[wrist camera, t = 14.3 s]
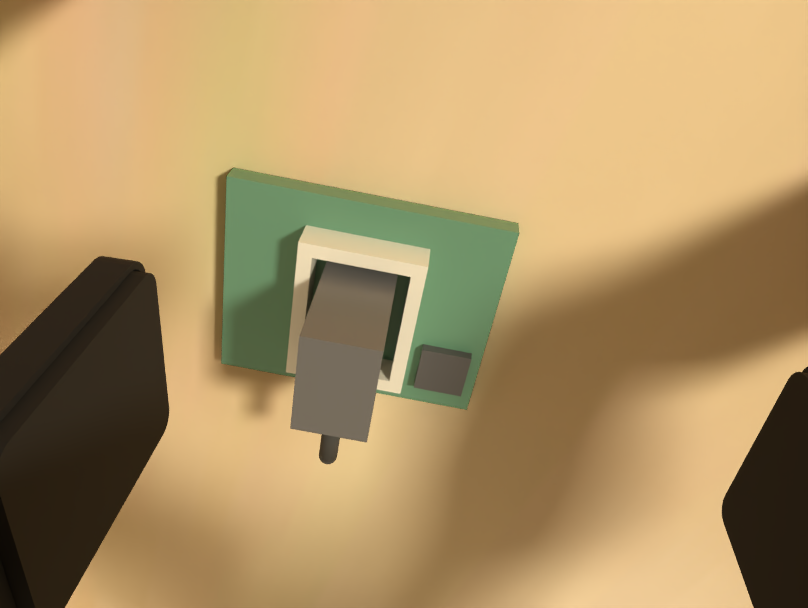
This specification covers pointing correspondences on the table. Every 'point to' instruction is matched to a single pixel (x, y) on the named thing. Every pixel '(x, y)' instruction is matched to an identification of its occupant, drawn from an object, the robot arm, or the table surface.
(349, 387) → the plug
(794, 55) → the table surface
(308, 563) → the table surface
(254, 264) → the circuit board
